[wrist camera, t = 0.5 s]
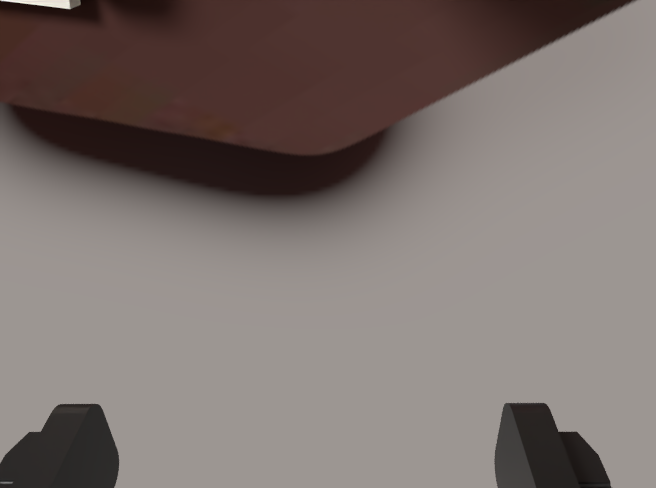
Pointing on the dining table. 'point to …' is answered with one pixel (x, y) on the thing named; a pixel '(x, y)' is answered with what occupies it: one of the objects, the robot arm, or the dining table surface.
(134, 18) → the dining table surface
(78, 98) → the dining table surface
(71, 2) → the toy chassis
